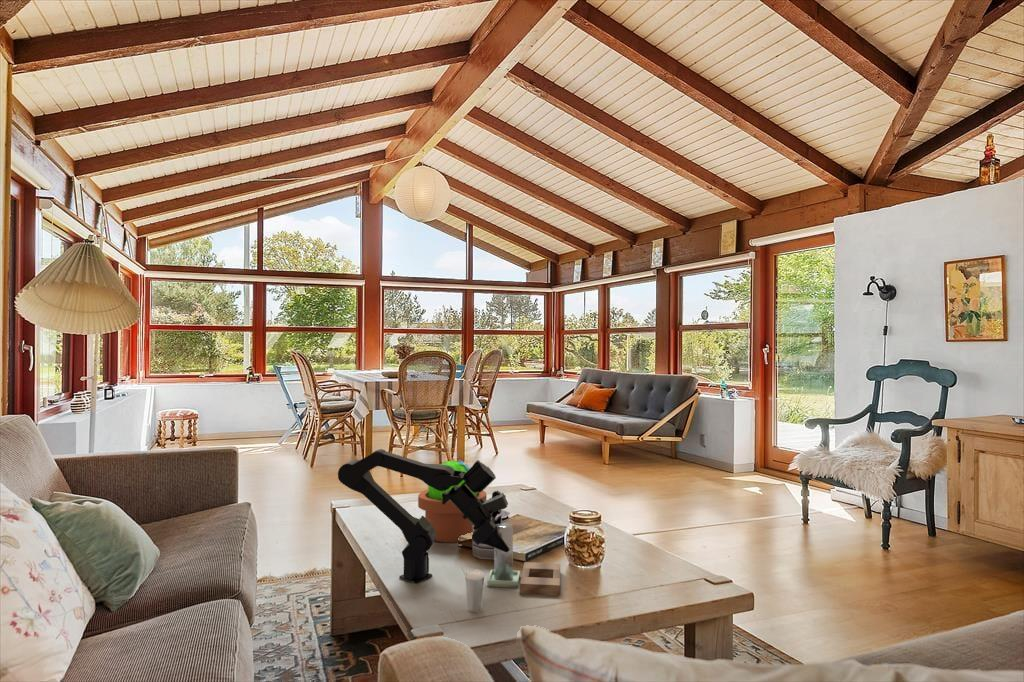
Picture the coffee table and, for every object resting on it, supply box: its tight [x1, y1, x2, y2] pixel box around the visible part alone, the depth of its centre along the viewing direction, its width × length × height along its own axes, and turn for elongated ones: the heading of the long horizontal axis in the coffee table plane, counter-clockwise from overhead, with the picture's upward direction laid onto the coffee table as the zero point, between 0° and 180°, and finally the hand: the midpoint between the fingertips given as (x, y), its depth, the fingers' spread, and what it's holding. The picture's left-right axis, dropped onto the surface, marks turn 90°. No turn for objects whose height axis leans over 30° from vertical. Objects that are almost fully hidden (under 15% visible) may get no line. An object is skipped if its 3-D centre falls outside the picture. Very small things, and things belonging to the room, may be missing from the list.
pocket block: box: [519, 561, 561, 596], centre depth 167 cm, size 10×16×2 cm, turn 175°
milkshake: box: [461, 567, 485, 613], centre depth 150 cm, size 4×5×10 cm
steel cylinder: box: [493, 523, 514, 581], centre depth 168 cm, size 5×5×14 cm
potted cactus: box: [417, 459, 487, 544], centre depth 209 cm, size 22×22×25 cm
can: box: [471, 509, 511, 561], centre depth 191 cm, size 11×11×12 cm
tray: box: [486, 569, 521, 588], centre depth 168 cm, size 8×8×2 cm
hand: (509, 547), depth 168 cm, fingers open, 6 cm apart
